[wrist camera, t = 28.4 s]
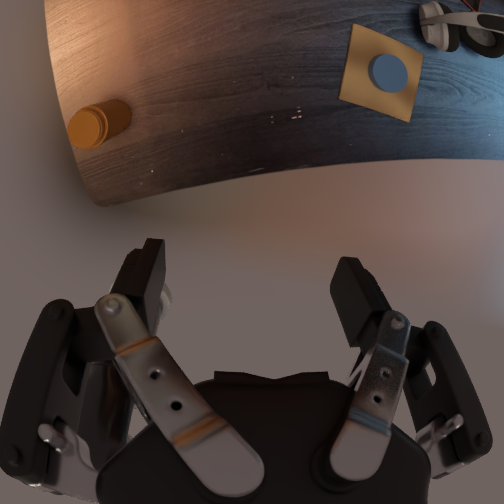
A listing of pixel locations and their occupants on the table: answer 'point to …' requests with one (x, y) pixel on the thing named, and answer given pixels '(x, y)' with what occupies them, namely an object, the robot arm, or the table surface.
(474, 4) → the smartphone
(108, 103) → the jar
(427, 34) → the headphones
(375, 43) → the coaster
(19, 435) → the robot arm
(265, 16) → the table surface
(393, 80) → the lid
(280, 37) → the table surface
